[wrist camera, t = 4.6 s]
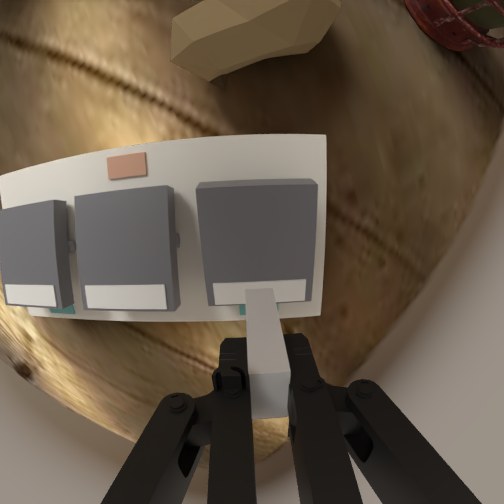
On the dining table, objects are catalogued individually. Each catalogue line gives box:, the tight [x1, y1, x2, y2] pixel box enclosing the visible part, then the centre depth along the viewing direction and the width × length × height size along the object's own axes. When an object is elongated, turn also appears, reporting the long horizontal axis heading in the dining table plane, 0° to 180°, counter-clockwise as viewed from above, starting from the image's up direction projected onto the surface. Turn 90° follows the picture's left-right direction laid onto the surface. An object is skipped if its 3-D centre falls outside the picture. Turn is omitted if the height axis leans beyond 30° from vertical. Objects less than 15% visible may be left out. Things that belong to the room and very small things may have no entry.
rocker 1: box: [0, 200, 74, 309], centre depth 19 cm, size 8×7×2 cm
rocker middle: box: [74, 185, 181, 312], centre depth 19 cm, size 8×7×2 cm
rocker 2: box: [195, 178, 318, 306], centre depth 19 cm, size 8×7×2 cm
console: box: [0, 134, 327, 322], centre depth 23 cm, size 14×28×6 cm, turn 92°
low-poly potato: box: [170, 0, 342, 91], centre depth 15 cm, size 15×11×12 cm
